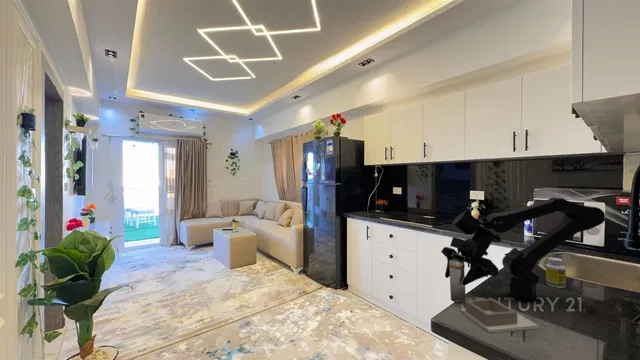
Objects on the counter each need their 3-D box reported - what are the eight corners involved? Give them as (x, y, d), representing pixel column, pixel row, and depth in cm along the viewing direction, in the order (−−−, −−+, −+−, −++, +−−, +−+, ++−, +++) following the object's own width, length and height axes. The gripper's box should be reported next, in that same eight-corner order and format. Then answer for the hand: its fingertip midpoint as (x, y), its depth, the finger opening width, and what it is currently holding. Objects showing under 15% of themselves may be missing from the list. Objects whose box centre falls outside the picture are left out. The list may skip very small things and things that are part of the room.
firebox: (502, 307, 82) (502, 295, 82) (538, 328, 70) (537, 313, 70) (460, 311, 81) (459, 298, 81) (489, 333, 69) (489, 318, 69)
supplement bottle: (561, 289, 94) (560, 261, 94) (543, 284, 99) (542, 258, 99) (569, 286, 96) (568, 259, 97) (551, 281, 101) (550, 256, 101)
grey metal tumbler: (460, 296, 91) (458, 258, 91) (469, 302, 86) (467, 262, 86) (447, 297, 90) (446, 259, 90) (455, 303, 86) (454, 263, 86)
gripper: (444, 224, 98) (420, 258, 95) (490, 233, 81) (462, 274, 77) (462, 244, 101) (439, 277, 97) (510, 256, 83) (484, 297, 79)
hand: (454, 280), depth 88 cm, fingers open, 7 cm apart
